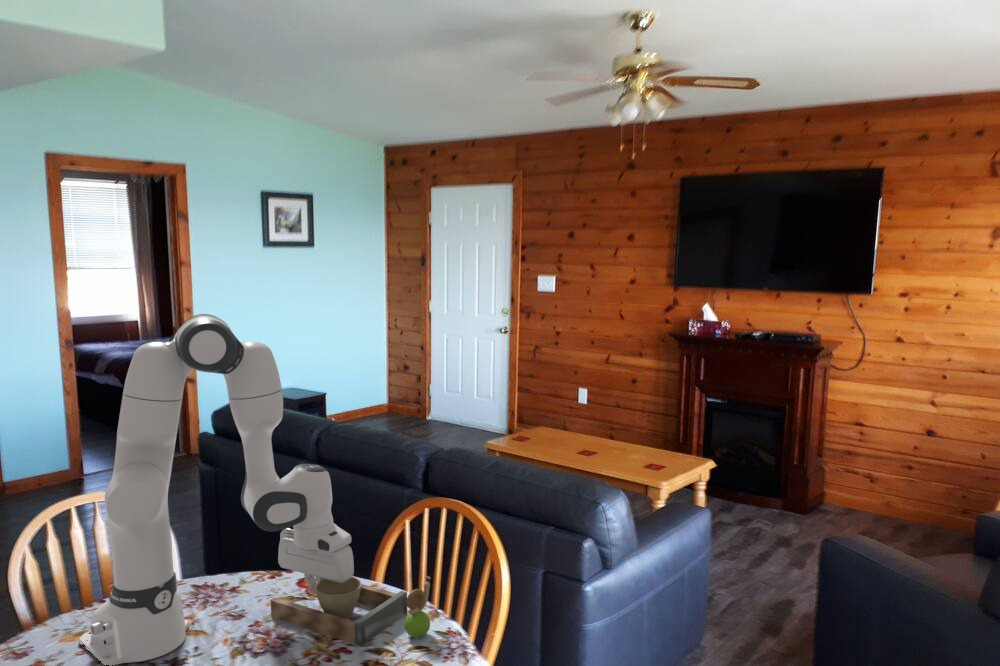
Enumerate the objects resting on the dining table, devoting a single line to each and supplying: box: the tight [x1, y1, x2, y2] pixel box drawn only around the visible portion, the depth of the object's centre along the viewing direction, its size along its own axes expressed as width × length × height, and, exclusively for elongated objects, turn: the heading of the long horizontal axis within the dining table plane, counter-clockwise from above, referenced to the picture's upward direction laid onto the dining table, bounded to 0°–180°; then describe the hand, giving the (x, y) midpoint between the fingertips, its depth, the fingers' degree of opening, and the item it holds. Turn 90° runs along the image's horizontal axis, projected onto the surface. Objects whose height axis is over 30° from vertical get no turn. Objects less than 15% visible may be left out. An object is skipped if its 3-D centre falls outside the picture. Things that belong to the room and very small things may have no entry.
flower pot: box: [315, 576, 362, 620], centre depth 159 cm, size 10×10×7 cm
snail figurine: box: [404, 575, 431, 639], centre depth 150 cm, size 5×6×12 cm
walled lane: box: [270, 580, 408, 647], centre depth 159 cm, size 26×16×5 cm, turn 61°
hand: (316, 592), depth 163 cm, fingers closed
